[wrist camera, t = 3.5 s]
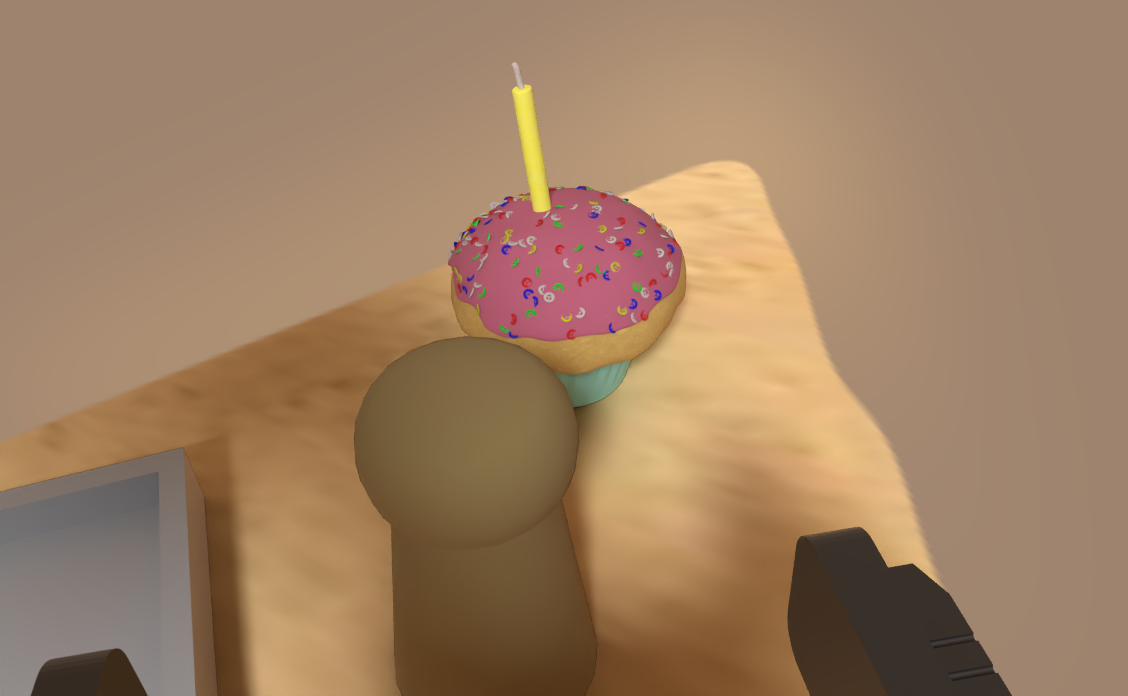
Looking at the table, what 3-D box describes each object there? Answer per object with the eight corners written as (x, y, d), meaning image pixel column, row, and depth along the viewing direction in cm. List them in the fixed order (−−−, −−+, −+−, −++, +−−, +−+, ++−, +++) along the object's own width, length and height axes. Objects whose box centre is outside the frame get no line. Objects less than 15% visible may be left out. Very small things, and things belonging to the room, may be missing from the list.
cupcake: (415, 372, 38) (366, 90, 30) (562, 271, 42) (553, 3, 34) (578, 484, 33) (572, 188, 25) (722, 358, 38) (756, 74, 30)
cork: (374, 600, 30) (301, 336, 23) (555, 541, 32) (542, 275, 24) (423, 781, 26) (352, 529, 18) (629, 703, 27) (641, 441, 20)
